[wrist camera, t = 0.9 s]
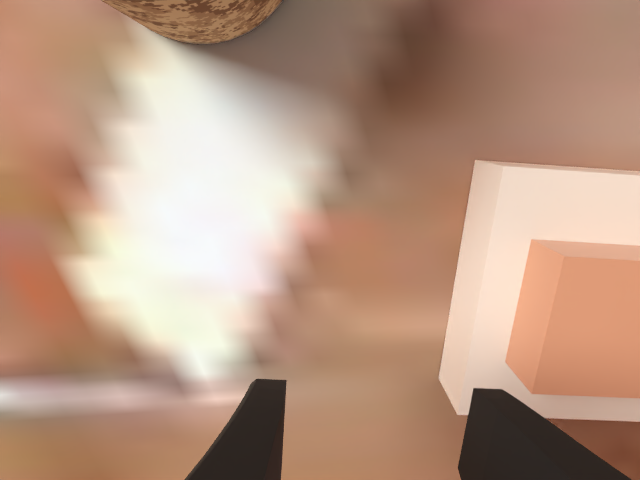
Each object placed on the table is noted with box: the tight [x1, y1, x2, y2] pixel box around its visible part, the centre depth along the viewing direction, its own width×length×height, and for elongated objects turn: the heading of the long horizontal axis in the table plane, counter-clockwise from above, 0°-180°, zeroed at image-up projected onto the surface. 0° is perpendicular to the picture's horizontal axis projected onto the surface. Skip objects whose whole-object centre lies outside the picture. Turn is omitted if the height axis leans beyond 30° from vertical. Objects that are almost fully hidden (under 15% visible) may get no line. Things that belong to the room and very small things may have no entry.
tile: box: [505, 239, 640, 398], centre depth 15 cm, size 5×7×2 cm
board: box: [439, 160, 640, 422], centre depth 17 cm, size 10×12×2 cm
